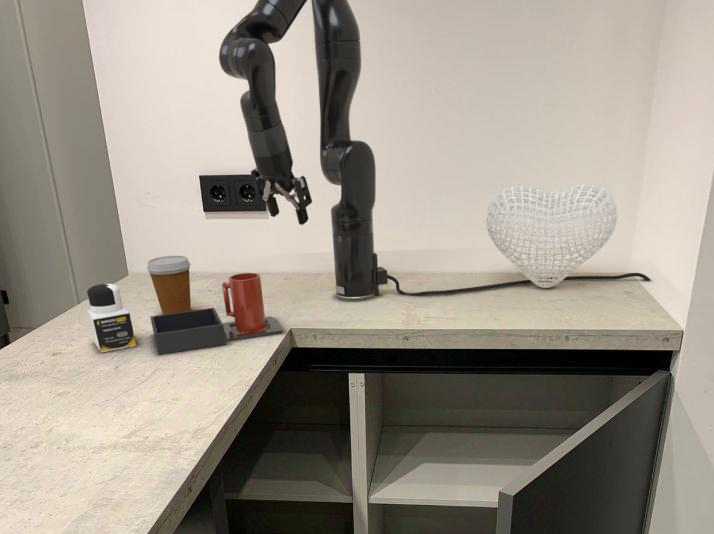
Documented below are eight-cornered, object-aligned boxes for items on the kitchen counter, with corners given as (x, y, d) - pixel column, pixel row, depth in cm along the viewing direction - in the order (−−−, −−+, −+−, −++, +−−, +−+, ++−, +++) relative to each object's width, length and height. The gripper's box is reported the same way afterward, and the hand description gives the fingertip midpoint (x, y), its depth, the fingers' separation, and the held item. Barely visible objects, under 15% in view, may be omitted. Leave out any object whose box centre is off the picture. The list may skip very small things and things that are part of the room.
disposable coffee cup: (188, 320, 162) (178, 264, 156) (148, 319, 164) (137, 265, 158) (204, 307, 170) (196, 254, 164) (166, 307, 172) (157, 255, 166)
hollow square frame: (271, 318, 159) (271, 316, 159) (282, 333, 150) (282, 330, 150) (221, 326, 157) (220, 323, 156) (229, 341, 147) (228, 338, 147)
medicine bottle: (100, 353, 145) (86, 292, 139) (94, 343, 151) (80, 285, 145) (136, 346, 148) (124, 286, 142) (129, 336, 154) (116, 279, 148)
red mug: (272, 327, 154) (265, 274, 149) (253, 335, 150) (246, 281, 144) (238, 321, 159) (231, 270, 153) (218, 330, 154) (210, 277, 149)
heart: (610, 280, 171) (621, 178, 160) (608, 299, 158) (620, 189, 148) (490, 277, 179) (493, 180, 169) (478, 294, 167) (481, 191, 156)
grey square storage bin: (217, 326, 157) (214, 307, 155) (226, 344, 145) (223, 324, 143) (154, 335, 153) (150, 316, 151) (158, 354, 142) (154, 334, 140)
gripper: (307, 142, 145) (324, 216, 158) (257, 132, 153) (277, 203, 165) (283, 160, 142) (302, 235, 154) (232, 149, 149) (254, 221, 161)
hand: (289, 218), depth 159 cm, fingers open, 8 cm apart
